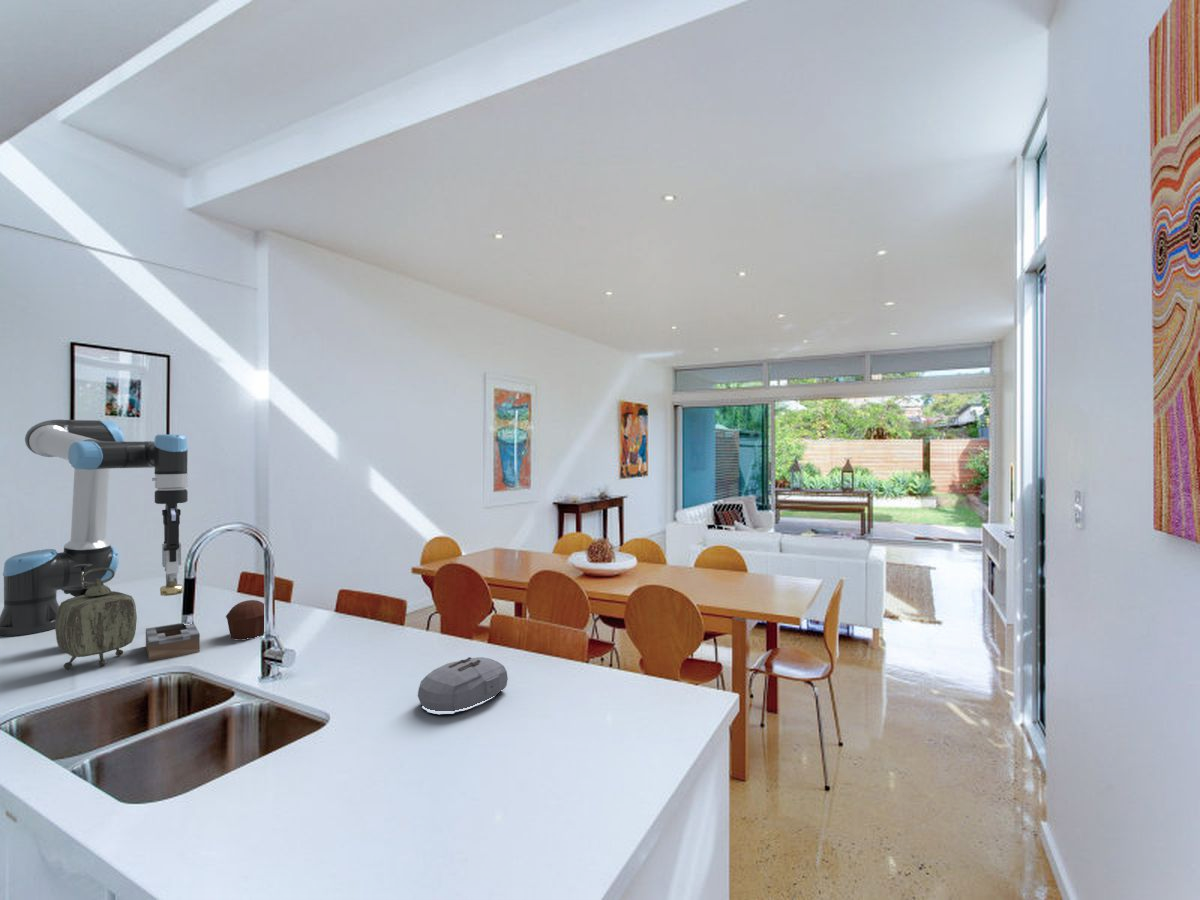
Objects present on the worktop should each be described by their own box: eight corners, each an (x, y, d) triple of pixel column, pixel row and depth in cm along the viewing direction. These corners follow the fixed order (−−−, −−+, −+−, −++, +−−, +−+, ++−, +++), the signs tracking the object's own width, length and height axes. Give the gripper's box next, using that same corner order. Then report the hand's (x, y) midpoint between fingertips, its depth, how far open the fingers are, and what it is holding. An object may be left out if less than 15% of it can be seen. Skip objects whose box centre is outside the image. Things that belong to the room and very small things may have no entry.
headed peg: (159, 593, 166) (159, 543, 166) (181, 590, 169) (181, 541, 169) (161, 596, 162) (160, 546, 162) (184, 593, 165) (183, 544, 165)
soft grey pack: (471, 678, 145) (402, 707, 128) (472, 644, 145) (402, 669, 128) (516, 693, 136) (447, 727, 120) (516, 657, 136) (448, 686, 119)
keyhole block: (145, 646, 165) (145, 628, 165) (192, 638, 173) (192, 621, 172) (149, 661, 154) (149, 642, 154) (199, 651, 161) (199, 633, 161)
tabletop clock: (124, 652, 160) (124, 561, 160) (139, 659, 156) (139, 565, 155) (55, 670, 148) (55, 571, 148) (69, 677, 143) (69, 575, 143)
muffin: (254, 641, 170) (254, 607, 170) (216, 641, 170) (216, 607, 170) (277, 629, 181) (278, 596, 181) (242, 628, 182) (242, 596, 182)
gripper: (152, 488, 170) (152, 568, 170) (157, 491, 157) (157, 579, 157) (184, 486, 174) (184, 565, 175) (191, 490, 161) (191, 575, 162)
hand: (171, 571), depth 166 cm, fingers closed on headed peg, 4 cm apart
